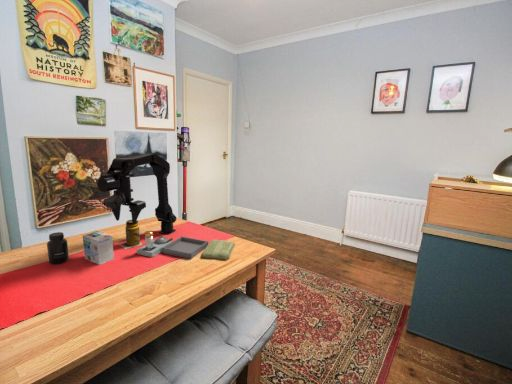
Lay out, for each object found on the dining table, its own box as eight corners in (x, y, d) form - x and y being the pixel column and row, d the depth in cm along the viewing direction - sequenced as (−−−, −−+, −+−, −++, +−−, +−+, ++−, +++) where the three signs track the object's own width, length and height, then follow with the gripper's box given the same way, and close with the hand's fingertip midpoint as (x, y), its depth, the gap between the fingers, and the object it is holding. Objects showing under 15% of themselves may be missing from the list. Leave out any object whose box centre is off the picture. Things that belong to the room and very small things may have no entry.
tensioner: (159, 240, 136) (159, 234, 135) (174, 243, 133) (174, 237, 132) (136, 253, 121) (136, 246, 120) (152, 257, 118) (152, 250, 117)
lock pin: (149, 250, 125) (148, 230, 123) (155, 251, 124) (154, 231, 122) (144, 253, 122) (143, 232, 119) (150, 254, 121) (149, 233, 118)
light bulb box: (84, 258, 114) (81, 235, 112) (99, 253, 120) (97, 230, 118) (99, 265, 110) (97, 240, 107) (114, 258, 115) (112, 235, 113)
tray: (181, 240, 137) (181, 236, 136) (207, 246, 132) (207, 241, 131) (162, 252, 123) (162, 247, 122) (190, 259, 118) (190, 253, 117)
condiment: (143, 244, 131) (141, 221, 128) (124, 249, 125) (123, 225, 122) (137, 240, 136) (136, 217, 133) (119, 244, 130) (117, 220, 127)
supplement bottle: (58, 266, 108) (55, 238, 105) (44, 263, 109) (40, 236, 106) (73, 258, 114) (70, 232, 112) (60, 256, 116) (56, 230, 113)
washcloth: (235, 245, 135) (235, 239, 135) (228, 261, 118) (228, 254, 117) (210, 243, 136) (210, 237, 136) (199, 259, 119) (199, 252, 119)
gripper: (90, 188, 111) (94, 224, 114) (125, 193, 105) (128, 231, 108) (112, 184, 121) (115, 217, 125) (145, 188, 115) (147, 222, 119)
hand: (125, 221), depth 119 cm, fingers open, 9 cm apart
